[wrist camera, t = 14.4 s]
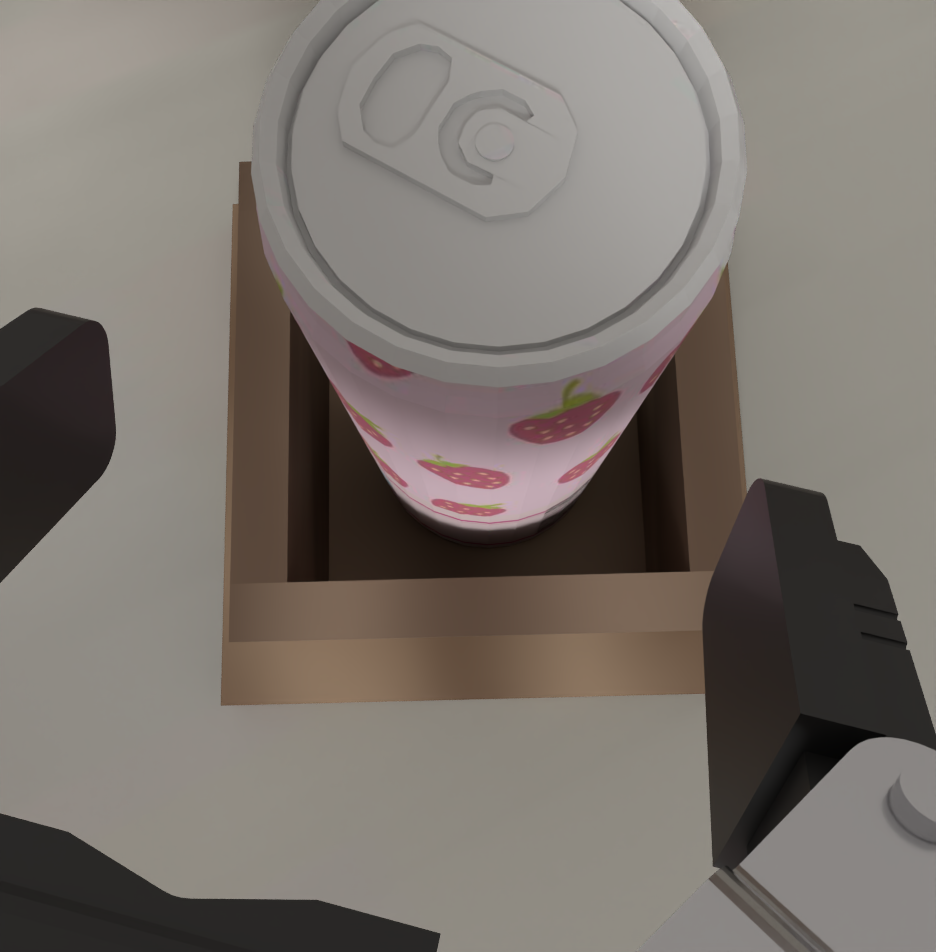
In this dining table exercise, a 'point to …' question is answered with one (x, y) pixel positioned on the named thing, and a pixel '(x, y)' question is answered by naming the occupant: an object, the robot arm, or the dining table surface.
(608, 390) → the beverage can
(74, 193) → the dining table surface
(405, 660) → the can socket
